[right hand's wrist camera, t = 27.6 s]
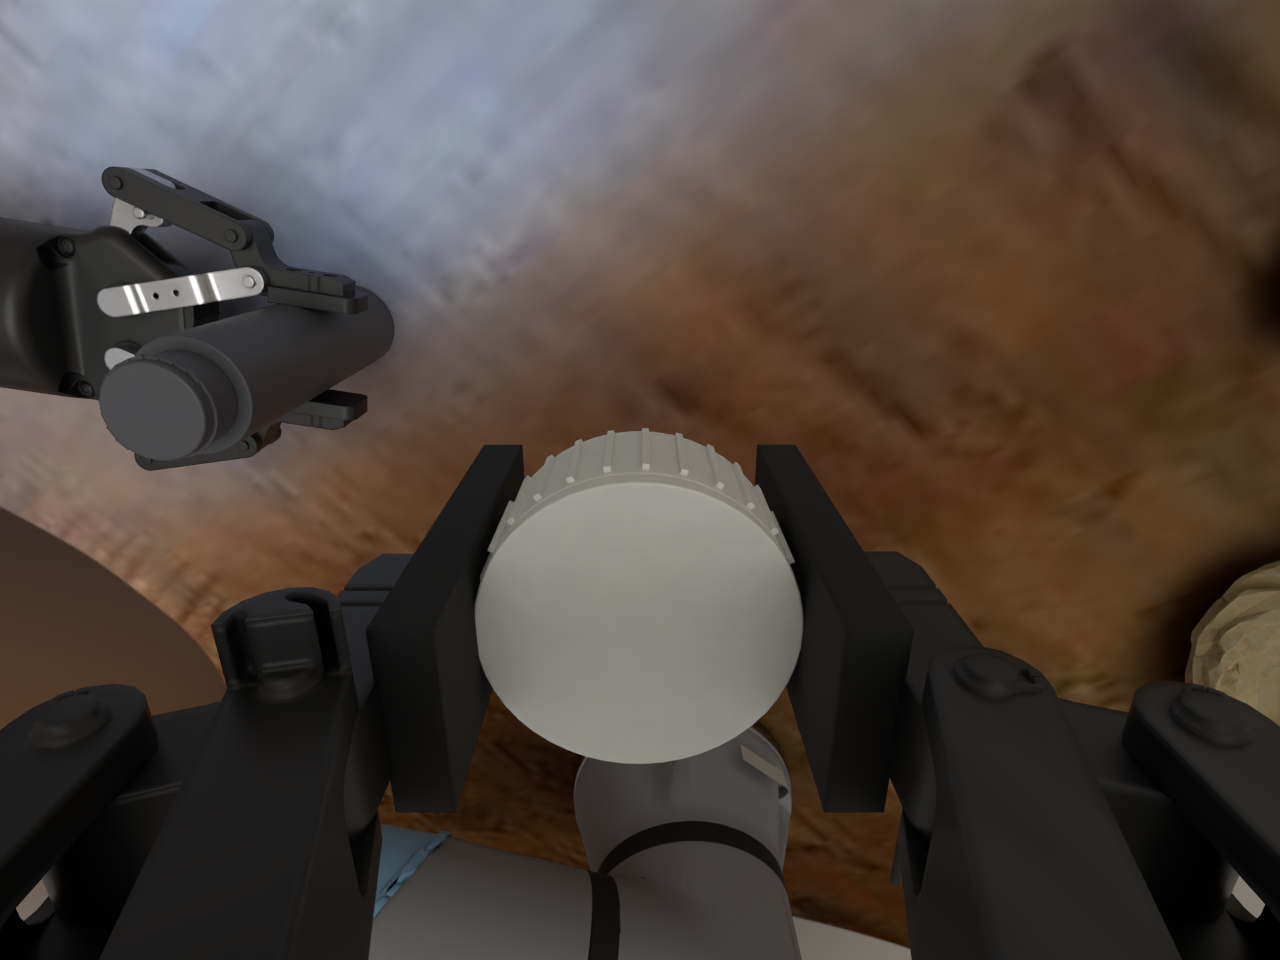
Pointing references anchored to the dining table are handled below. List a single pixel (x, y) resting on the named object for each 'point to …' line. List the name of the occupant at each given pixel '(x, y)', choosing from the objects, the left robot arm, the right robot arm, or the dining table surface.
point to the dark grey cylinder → (236, 376)
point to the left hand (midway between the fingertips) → (360, 358)
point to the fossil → (1242, 642)
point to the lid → (638, 600)
